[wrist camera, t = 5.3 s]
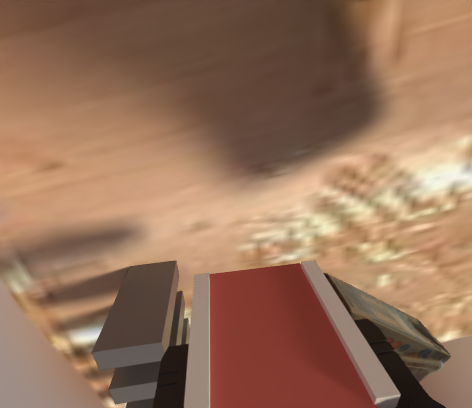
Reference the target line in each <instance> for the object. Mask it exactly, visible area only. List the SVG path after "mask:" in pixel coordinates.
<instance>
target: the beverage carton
mask: <svg viewBox="0 0 472 408" xmlns="http://www.w3.org/2000/svg"><path fill="white" fill-rule="evenodd" d="M325 277H326V278H327V280H328V282H329V283H330V285H331V286H332V288H333V289H334V291H335V293H336V294H337V296H338V297H339V299H340V300H341V302H342V303H343V305H344V307H345V308H346V310H347V311H348V313H349V314H350V316H351V318H352V319H353V320H359V319H366V318H367V319H368V320H370V321H371V322H372V323H373V324H375V325H376V326H377V327H378V328H379V329H380V330H381V331H382V333H383V334H384V336H385V337H386V338H387V340H388V342H390V344H391V345H392V347H393V348H394V349H395V352H397V353H398V355H399V356H400V358H401V359H402V360H403V362H404V363H405V364H406V366H407V367H408V369H409V370H410V371H411V373H412V374H413V375H414V377H415V378H416V380H417V381H418V382H420V381H421V380H422V379H424V378H425V377H426V376H428V375H429V374H430V373H432V372H438V371H440V370H441V369H442V368H443V363H444V362H446V361H447V360H448V359H449V358H450V357H451V356H450V354H449V353H448V351H447V350H446V349H445V348H444V347H443V346H442V345H441V343H440V342H439V341H438V340H437V339H436V338H435V337H434V336H433V335H432V334H431V333H430V332H429V331H428V329H427V328H425V327H424V326H423V324H422V323H421V322H420V321H419V320H418V319H416V318H414V317H412V316H410V315H408V314H406V313H404V312H402V311H400V310H398V309H396V308H394V307H392V306H390V305H388V304H386V303H384V302H382V301H380V300H378V299H377V298H375V297H373V296H371V295H369V294H367V293H365V292H363V291H361V290H359V289H357V288H355V287H353V286H351V285H349V284H347V283H345V282H343V281H341V280H339V279H337V278H335V277H332V276H330V275H329V274H325Z"/></svg>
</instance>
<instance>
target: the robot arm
mask: <svg viewBox="0 0 472 408" xmlns="http://www.w3.org/2000/svg"><path fill="white" fill-rule="evenodd" d="M301 268H302V270H303V272H304V273H305V275H306V277H307V279H308V281H309V283H310V285H311V287H312V288H313V290H314V292H315V294H316V296H317V298H318V300H319V302H320V303H321V305H322V307H323V309H324V311H325V313H326V315H327V317H328V318H329V320H330V322H331V324H332V326H333V328H334V330H335V332H336V333H337V335H338V337H339V339H340V341H341V343H342V345H343V346H344V348H345V350H346V352H347V354H348V356H349V358H350V360H351V361H352V363H353V365H354V367H355V369H356V371H357V373H358V375H359V376H360V378H361V380H362V382H363V384H364V386H365V388H366V390H367V391H368V393H369V395H370V397H371V399H372V401H373V403H374V405H376V406H377V408H446V407H445V406H443V405H441V404H440V403H438V402H436V401H435V400H433V399H432V398H431V397H430V396H429V395H428V394H427V393H426V392H425V391H424V389H423V388H422V386H421V385H420V384H419V382H418V381H417V380H416V378H415V377H414V375H413V374H412V373H411V371H410V370H409V369H408V367H407V366H406V364H405V363H404V362H403V360H402V359H401V358H400V356H399V355H398V353H397V352H395V349H394V348H393V347H392V345H391V344H390V342H388V340H387V338H386V337H385V336H384V334H383V333H382V331H381V330H380V329H379V328H378V327H377V326H376V325H375V324H373V323H372V322H371V321H370V320H368V319H367V318H366V319H359V320H353V319H352V318H351V316H350V314H349V313H348V311H347V310H346V308H345V307H344V305H343V303H342V302H341V300H340V299H339V297H338V296H337V294H336V293H335V291H334V289H333V288H332V286H331V285H330V283H329V282H328V280H327V278H326V277H325V275H324V274H323V272H322V271H321V269H320V268H319V266H318V264H317V263H316V261H315V260H314V261H305V262H301ZM153 408H210V278H209V273H206V274H198V275H194V286H193V299H192V311H191V324H190V336H189V344H183V345H176V346H169V347H168V348H167V350H166V352H165V354H164V355H163V357H162V359H161V363H160V369H159V376H158V380H157V388H156V391H155V397H154V402H153Z"/></svg>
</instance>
